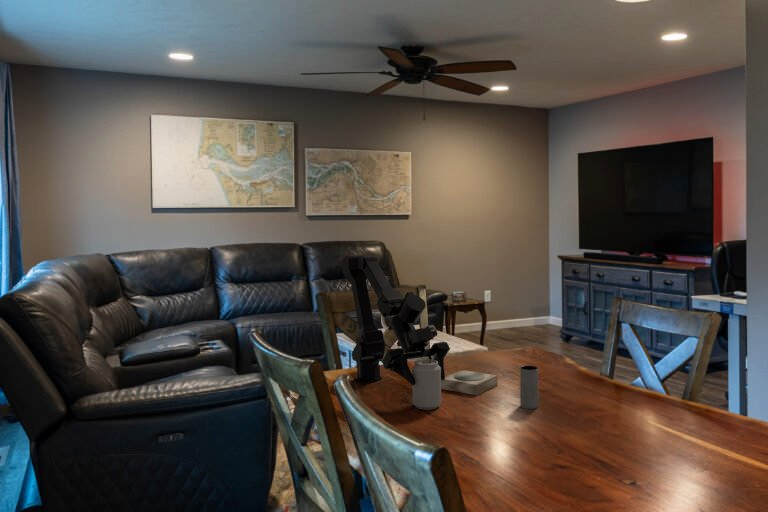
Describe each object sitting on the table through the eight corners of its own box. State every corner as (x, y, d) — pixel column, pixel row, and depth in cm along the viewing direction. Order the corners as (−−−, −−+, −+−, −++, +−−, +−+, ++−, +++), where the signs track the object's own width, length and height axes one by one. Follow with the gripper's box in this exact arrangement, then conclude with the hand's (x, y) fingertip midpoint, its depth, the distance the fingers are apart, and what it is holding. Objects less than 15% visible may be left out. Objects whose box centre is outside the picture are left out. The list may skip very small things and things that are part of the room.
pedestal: (440, 388, 178) (440, 377, 178) (462, 379, 188) (462, 369, 187) (477, 395, 171) (477, 384, 171) (497, 385, 180) (497, 374, 180)
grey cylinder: (518, 407, 159) (518, 368, 158) (523, 402, 163) (522, 364, 162) (535, 410, 157) (535, 370, 156) (540, 405, 161) (540, 366, 160)
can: (441, 402, 165) (440, 358, 164) (441, 410, 158) (440, 364, 157) (413, 401, 166) (412, 358, 165) (412, 410, 158) (411, 364, 158)
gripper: (386, 319, 159) (410, 369, 150) (445, 312, 169) (471, 359, 160) (372, 344, 167) (394, 393, 158) (430, 336, 176) (453, 382, 167)
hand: (429, 381), depth 160 cm, fingers open, 9 cm apart
